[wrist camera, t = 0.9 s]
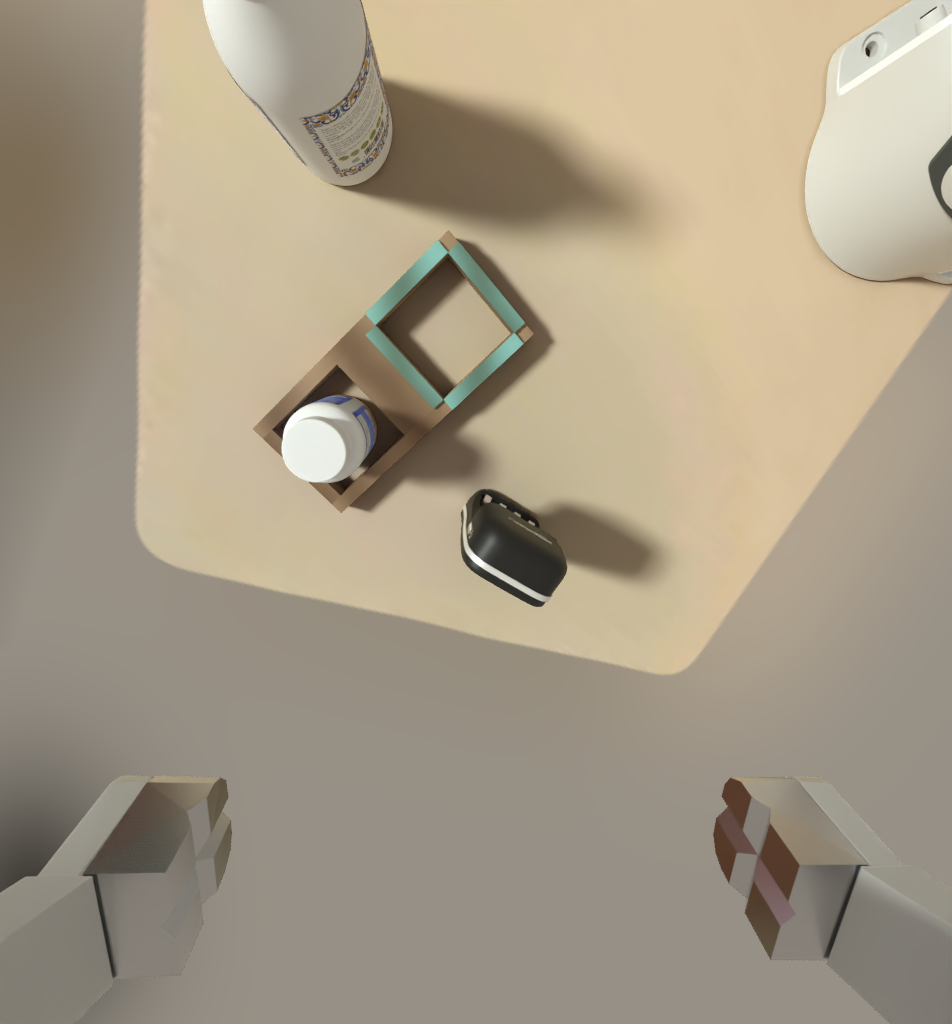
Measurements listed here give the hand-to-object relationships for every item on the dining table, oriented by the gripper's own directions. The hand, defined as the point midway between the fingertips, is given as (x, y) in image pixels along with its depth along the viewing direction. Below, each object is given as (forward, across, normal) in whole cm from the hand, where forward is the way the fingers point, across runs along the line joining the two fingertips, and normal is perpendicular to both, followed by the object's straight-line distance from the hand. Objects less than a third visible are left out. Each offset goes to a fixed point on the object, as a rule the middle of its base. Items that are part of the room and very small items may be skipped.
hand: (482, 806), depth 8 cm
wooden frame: (+35, +5, -5) cm, 35 cm away
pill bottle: (+35, +9, -1) cm, 36 cm away
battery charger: (+35, -5, +5) cm, 36 cm away
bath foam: (+35, +8, -21) cm, 42 cm away
